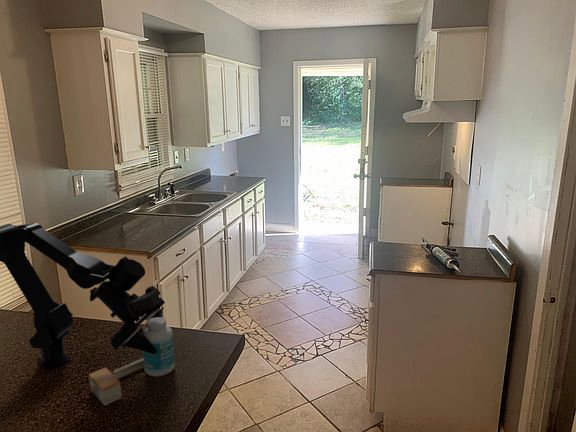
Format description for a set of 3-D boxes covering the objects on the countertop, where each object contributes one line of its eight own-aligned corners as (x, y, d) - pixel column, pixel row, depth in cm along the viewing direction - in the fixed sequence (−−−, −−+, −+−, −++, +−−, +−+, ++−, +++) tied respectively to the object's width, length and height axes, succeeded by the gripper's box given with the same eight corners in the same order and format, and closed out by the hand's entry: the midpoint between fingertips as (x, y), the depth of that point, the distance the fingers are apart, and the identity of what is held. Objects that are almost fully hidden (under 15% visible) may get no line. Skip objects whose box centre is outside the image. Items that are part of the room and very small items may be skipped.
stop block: (91, 390, 105) (88, 374, 104) (107, 383, 108) (105, 367, 107) (104, 405, 99) (102, 388, 98) (121, 397, 102) (119, 381, 101)
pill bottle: (166, 379, 108) (162, 329, 105) (139, 376, 109) (134, 327, 106) (179, 362, 115) (176, 315, 112) (153, 359, 117) (149, 313, 113)
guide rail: (113, 377, 110) (112, 370, 109) (163, 355, 119) (163, 349, 119) (115, 379, 109) (114, 372, 109) (166, 357, 119) (165, 350, 118)
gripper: (117, 297, 98) (166, 345, 99) (155, 268, 116) (197, 309, 117) (89, 326, 102) (137, 372, 102) (131, 293, 119) (171, 333, 120)
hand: (163, 344), depth 110 cm, fingers closed on pill bottle, 7 cm apart
